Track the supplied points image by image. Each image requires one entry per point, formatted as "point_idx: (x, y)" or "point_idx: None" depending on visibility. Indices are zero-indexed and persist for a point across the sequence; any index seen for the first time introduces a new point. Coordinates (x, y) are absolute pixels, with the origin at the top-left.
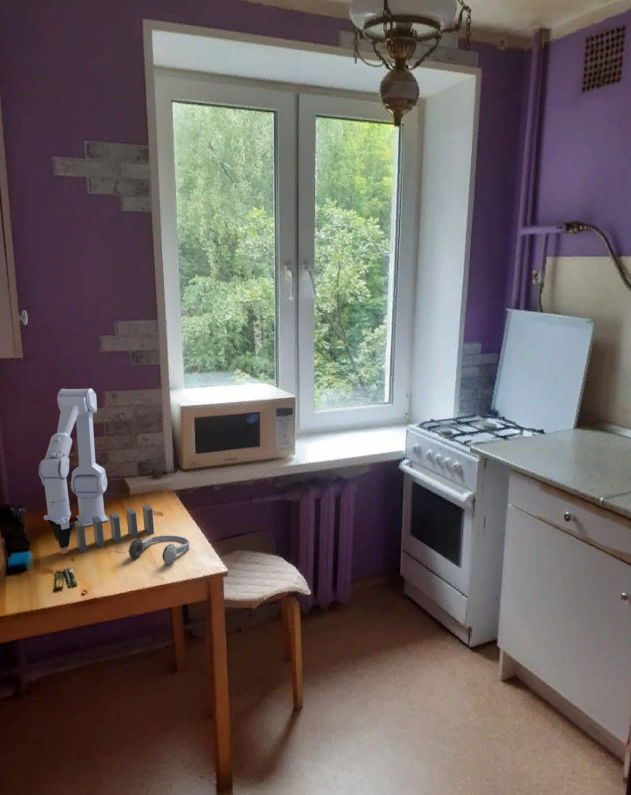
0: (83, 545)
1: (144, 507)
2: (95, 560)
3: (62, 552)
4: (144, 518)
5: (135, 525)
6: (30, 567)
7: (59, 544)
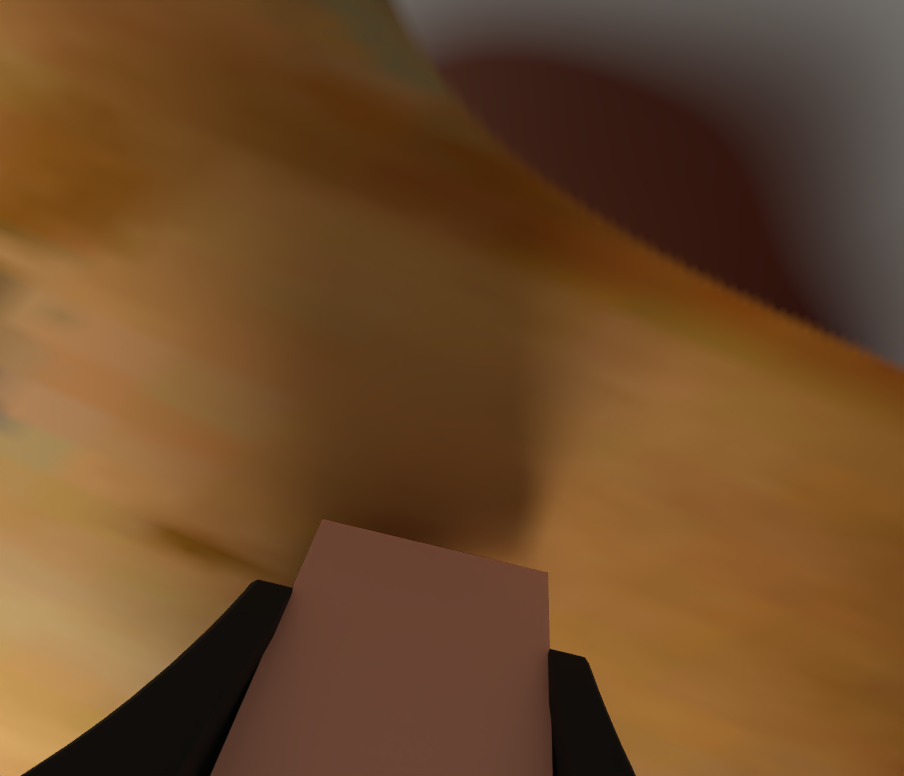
0: None
1: None
2: (6, 663)
3: (316, 542)
4: None
5: None
6: (363, 28)
7: (221, 616)
